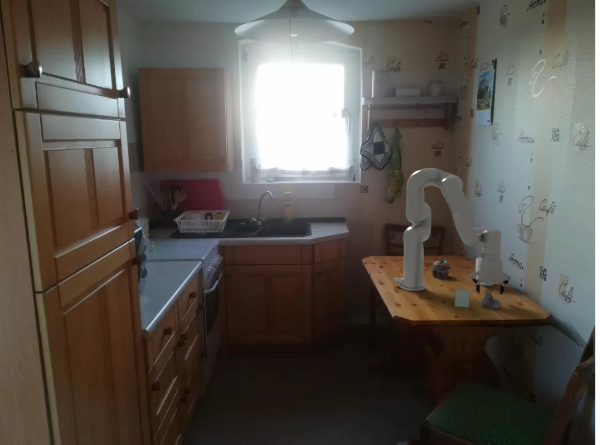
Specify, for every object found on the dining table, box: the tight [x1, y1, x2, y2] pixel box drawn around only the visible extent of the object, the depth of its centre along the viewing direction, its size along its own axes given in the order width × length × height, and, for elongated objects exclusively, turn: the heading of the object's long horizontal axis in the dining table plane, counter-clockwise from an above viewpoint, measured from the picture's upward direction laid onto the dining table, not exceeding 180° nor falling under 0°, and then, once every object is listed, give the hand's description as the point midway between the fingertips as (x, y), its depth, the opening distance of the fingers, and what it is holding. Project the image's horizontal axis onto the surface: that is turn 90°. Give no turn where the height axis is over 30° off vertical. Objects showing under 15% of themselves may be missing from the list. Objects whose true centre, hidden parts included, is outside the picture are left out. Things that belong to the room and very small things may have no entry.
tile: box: [454, 287, 471, 309], centre depth 210 cm, size 6×2×8 cm, turn 75°
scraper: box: [481, 289, 500, 309], centre depth 214 cm, size 7×12×4 cm, turn 165°
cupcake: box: [431, 257, 451, 279], centre depth 255 cm, size 10×10×10 cm
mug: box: [475, 256, 495, 287], centre depth 239 cm, size 15×11×13 cm
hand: (489, 293), depth 216 cm, fingers open, 9 cm apart
